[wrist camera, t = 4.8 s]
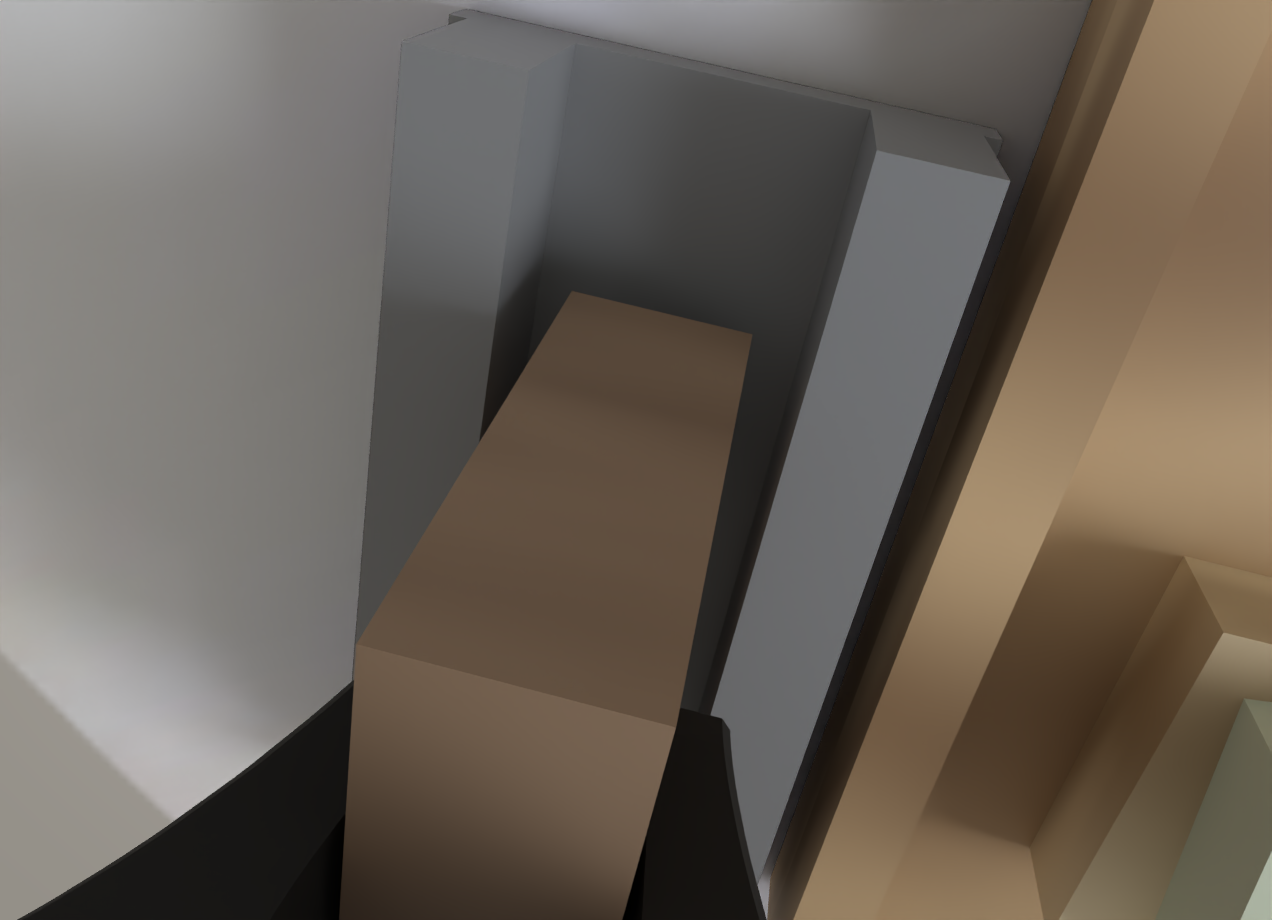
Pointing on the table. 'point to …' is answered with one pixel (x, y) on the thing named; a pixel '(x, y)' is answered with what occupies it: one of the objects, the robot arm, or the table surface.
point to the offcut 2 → (1231, 832)
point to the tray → (1061, 474)
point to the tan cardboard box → (544, 633)
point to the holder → (690, 288)
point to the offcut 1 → (1156, 747)
